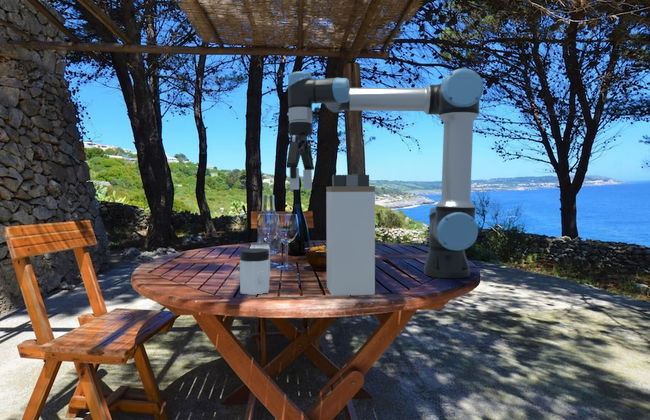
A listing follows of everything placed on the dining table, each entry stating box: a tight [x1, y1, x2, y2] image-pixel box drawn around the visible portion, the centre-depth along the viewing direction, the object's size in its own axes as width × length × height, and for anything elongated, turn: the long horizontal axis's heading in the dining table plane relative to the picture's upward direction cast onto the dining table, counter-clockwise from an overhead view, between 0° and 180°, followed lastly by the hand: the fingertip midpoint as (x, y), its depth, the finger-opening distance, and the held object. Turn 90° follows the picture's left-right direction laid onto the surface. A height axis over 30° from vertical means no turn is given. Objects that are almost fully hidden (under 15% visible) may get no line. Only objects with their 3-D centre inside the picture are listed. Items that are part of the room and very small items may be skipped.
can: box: [249, 241, 271, 280], centre depth 139 cm, size 6×6×12 cm
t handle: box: [331, 174, 370, 186], centre depth 129 cm, size 20×10×3 cm, turn 7°
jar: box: [239, 248, 270, 296], centre depth 123 cm, size 9×8×12 cm
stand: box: [325, 185, 376, 297], centre depth 124 cm, size 12×12×30 cm
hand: (301, 189), depth 138 cm, fingers open, 13 cm apart
